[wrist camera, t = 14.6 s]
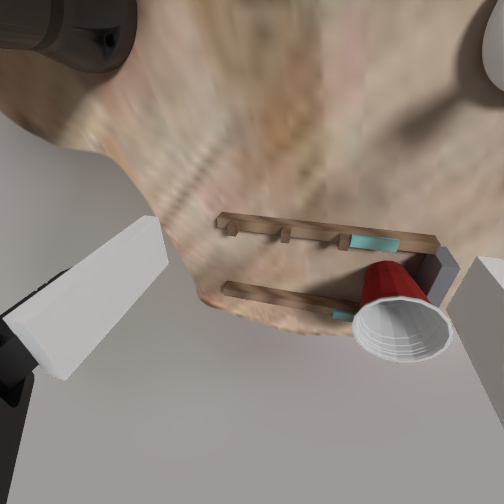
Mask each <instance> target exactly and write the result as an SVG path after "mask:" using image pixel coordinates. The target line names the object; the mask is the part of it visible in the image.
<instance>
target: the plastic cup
mask: <svg viewBox="0 0 504 504" xmlns="http://www.w3.org/2000/svg"><path fill="white" fill-rule="evenodd" d="M351 329H352V332H353V335H354V338H355V340H356V342H358V344H359V345H360V346H361V347H362V348H363V349H364V350H365V351H367V352H369V353H371V354H373V355H375V356H377V357H379V358H381V359H385V360H390V361H394V362H419V361H422V360H426V359H430V358H434V357H435V356H437V355H438V354H439V353H441V352H442V351H444V350H445V349H447V347H448V345H449V343H450V341H451V339H452V337H453V332H452V325H451V322H450V321H449V319H448V318H447V317H446V316H445V315H444V314H443V313H442V311H441V310H440V309H439V308H438V307H436V306H434V305H432V303H431V302H430V301H429V300H428V298H427V297H426V296H425V294H424V293H423V292H422V290H421V289H420V287H419V286H418V285H417V283H416V282H415V281H414V280H413V279H412V277H411V276H410V275H409V273H408V272H407V271H406V270H405V269H404V267H403V266H401V265H400V264H398V263H396V262H394V261H381V262H377V263H375V264H373V265H372V266H371V267H370V268H369V269H368V270H367V272H366V276H365V281H364V287H363V292H362V299H361V306H360V309H359V311H358V312H357V313H356V314H355V316H354V319H353V324H352V328H351Z"/></svg>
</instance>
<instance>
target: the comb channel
mask: <svg viewBox="0 0 504 504" xmlns="http://www.w3.org/2000/svg"><path fill="white" fill-rule="evenodd" d="M217 225H218V228H226V229H228V236H235V237H236V235H237V233H238V232H239V230H242V231H250V232H258V233H266V234H274V235H281V243H289V241H290V237H298V238H306V239H314V240H322V241H330V242H338V250H343V251H347V250H348V246H349V245H350V247H355V248H363V249H371V250H379V251H387V252H395V253H396V252H397V250H402V251H411V252H419V253H427V254H435V255H436V253H437V251H438V249H439V247H440V245H441V244H440V243H439V241H438V240H437V238H436V236H435V235H426V234H417V233H408V232H399V231H390V230H381V229H372V228H362V227H353V226H344V225H335V224H326V223H317V222H308V221H299V220H290V219H281V218H272V217H263V216H254V215H245V214H236V213H227V212H222V213H221V214H220V215H219V217H218V218H217ZM223 292H224V295H225V296H231V297H236V298H242V299H247V300H253V301H258V302H263V303H269V304H274V305H280V306H285V307H291V308H296V309H302V310H307V311H313V312H318V313H324V314H329V315H332V318H333V319H339V320H344V321H350V322H353V319H354V316H355V314H356V313H357V312H358V311H359V309H360V306H361V303H355V302H349V301H343V300H337V299H331V298H326V297H320V296H314V295H308V294H302V293H296V292H290V291H284V290H278V289H273V288H267V287H261V286H255V285H249V284H243V283H237V282H231V281H227V283H226V285H225V287H224V288H223Z"/></svg>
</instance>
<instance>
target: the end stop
mask: <svg viewBox="0 0 504 504" xmlns="http://www.w3.org/2000/svg"><path fill="white" fill-rule="evenodd" d="M460 269H461V268H460V267H459V265H458V264H457V262H456V261H455V259H454V258H453V256H452V255H451V253H450V252H449V250H448V249H447V247H441V246H440V247H439V249H438V251H437V253H436V255H435V254H426V256H425V259H424V261H423V263H422V265H421V268H420V270H419V272H418V274H417V276H416V279H415V282H416V283H417V285H418V286H419V287H420V289H421V290H422V292H423V293H424V294H425V296H426V297H427V298H428V300H429V301H430V302H431V303H432V305H434V306H436V307H438V308H439V306H440V304H441V303H442V301H443V299H444V297H445V295H446V294H447V292H448V290H449V288H450V286H451V285H452V283H453V281H454V279H455V277H456V276H457V274H458V272H459V270H460Z"/></svg>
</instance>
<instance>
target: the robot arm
mask: <svg viewBox="0 0 504 504" xmlns="http://www.w3.org/2000/svg"><path fill="white" fill-rule="evenodd" d="M136 26H137V3H136V0H0V48H6V49H20V50H33V51H36V52H38V53H40V54H43V55H45V56H47V57H49V58H51V59H53V60H55V61H57V62H60V63H62V64H64V65H66V66H68V67H70V68H73V69H76V70H79V71H83V72H107V71H111V70H113V69H115V68H116V67H118V66H119V65H120V64H121V63H122V62H123V61H124V60H125V59H126V57H127V56H128V54H129V52H130V50H131V48H132V45H133V42H134V38H135V34H136ZM168 264H169V262H168V258H167V254H166V249H165V245H164V240H163V237H162V232H161V227H160V223H159V219H158V217H153V216H143V217H141V218H140V219H138V220H137V221H136V222H134V223H133V224H132V225H130V226H129V227H127V228H126V229H125V230H123V231H122V232H120V233H119V234H118V235H116V236H115V237H114V238H112V239H111V240H109V241H108V242H107V243H105V244H104V245H103V246H101V247H100V248H99V249H97V250H96V251H94V252H93V253H92V254H90V255H89V256H88V257H86V258H85V259H83V260H82V261H81V262H79V263H78V264H76V265H75V266H73V267H71V268H69V269H67V270H65V271H62V272H60V273H59V274H58V275H56V276H55V277H53V278H52V279H51V280H49V281H48V283H45V284H44V285H42V286H41V287H39V288H38V290H37V291H34V292H32V293H31V294H29V295H28V296H27V297H25V298H24V299H23V300H21V301H20V302H18V303H17V304H15V305H14V306H13V307H11V308H10V309H8V310H7V311H6V312H4V313H3V314H1V315H0V504H6V502H7V498H8V494H9V489H10V485H11V481H12V476H13V472H14V467H15V463H16V458H17V454H18V450H19V445H20V441H21V437H22V432H23V428H24V423H25V419H26V414H27V410H28V406H29V401H30V397H31V393H32V388H33V384H34V374H33V372H32V370H33V369H34V368H35V367H36V366H37V365H39V366H40V367H41V368H42V369H43V371H44V372H45V373H46V374H47V375H49V376H52V377H55V378H59V379H62V380H66V379H67V378H68V377H69V376H70V375H71V374H72V373H73V372H74V370H75V369H76V368H77V367H78V366H79V365H80V364H81V363H82V361H83V360H84V359H85V358H86V357H87V356H88V355H89V354H90V352H91V351H92V350H93V349H94V348H95V347H96V346H97V345H98V343H99V342H100V341H101V340H102V339H103V338H104V336H105V335H106V334H107V333H108V332H109V331H110V330H111V329H112V328H113V326H114V325H115V324H116V323H117V322H118V321H119V319H121V317H122V316H123V315H124V314H125V313H126V312H127V310H128V309H129V308H130V307H131V306H132V305H133V304H134V303H135V302H136V300H137V299H138V298H139V297H140V296H141V295H142V294H143V292H144V291H145V290H146V289H147V288H148V287H149V286H150V285H151V283H152V282H153V281H154V280H155V279H156V278H157V277H158V276H159V274H160V273H161V272H162V271H163V270H164V269H165V267H167V265H168ZM446 310H447V312H448V314H449V317H450V319H451V321H452V323H453V325H454V327H455V329H456V331H457V333H458V335H459V337H460V339H461V341H462V343H463V345H464V347H465V349H466V352H467V353H468V356H469V358H470V360H471V362H472V364H473V366H474V368H475V370H476V372H477V374H478V376H479V378H480V380H481V382H482V385H483V387H484V389H485V390H486V393H487V395H488V397H489V399H490V401H491V403H492V405H493V407H494V409H495V411H496V413H497V415H498V418H499V420H500V422H501V424H502V426H503V428H504V261H503V260H502V259H498V258H490V257H482V256H477V257H476V258H475V260H474V262H473V263H472V265H471V267H470V269H469V270H468V272H467V274H466V275H465V277H464V279H463V281H462V282H461V284H460V286H459V287H458V289H457V291H456V293H455V294H454V296H453V298H452V300H451V301H450V303H449V305H448V306H447V308H446Z"/></svg>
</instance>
